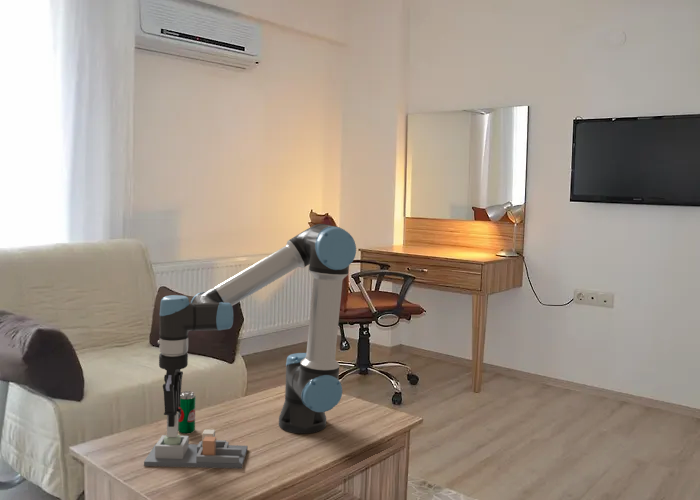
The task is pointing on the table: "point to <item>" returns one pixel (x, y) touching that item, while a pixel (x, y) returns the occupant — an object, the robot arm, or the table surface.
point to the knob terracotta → (209, 446)
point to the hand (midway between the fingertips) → (172, 436)
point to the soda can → (187, 412)
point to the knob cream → (207, 434)
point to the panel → (196, 455)
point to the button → (172, 440)
